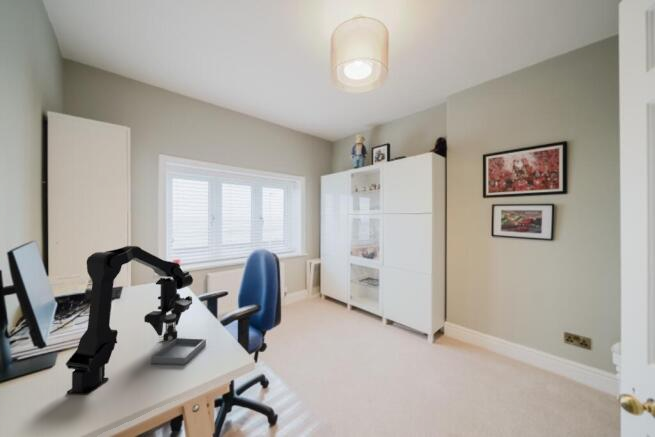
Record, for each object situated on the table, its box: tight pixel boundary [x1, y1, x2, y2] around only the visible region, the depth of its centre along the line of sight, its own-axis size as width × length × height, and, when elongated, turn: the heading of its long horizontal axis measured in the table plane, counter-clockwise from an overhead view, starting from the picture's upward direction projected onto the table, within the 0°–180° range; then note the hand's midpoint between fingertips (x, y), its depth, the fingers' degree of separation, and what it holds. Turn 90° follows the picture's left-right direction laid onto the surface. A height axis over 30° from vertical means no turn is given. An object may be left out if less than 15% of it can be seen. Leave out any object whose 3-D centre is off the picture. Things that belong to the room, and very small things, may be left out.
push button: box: [158, 313, 178, 342], centre depth 98 cm, size 7×5×10 cm
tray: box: [150, 337, 207, 366], centre depth 88 cm, size 13×12×2 cm
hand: (168, 330), depth 98 cm, fingers open, 9 cm apart
